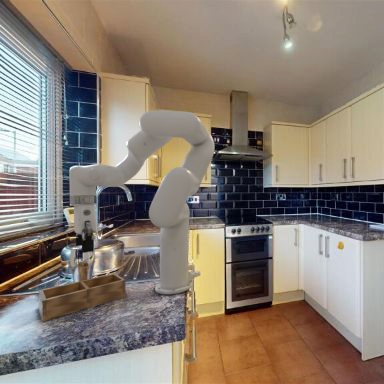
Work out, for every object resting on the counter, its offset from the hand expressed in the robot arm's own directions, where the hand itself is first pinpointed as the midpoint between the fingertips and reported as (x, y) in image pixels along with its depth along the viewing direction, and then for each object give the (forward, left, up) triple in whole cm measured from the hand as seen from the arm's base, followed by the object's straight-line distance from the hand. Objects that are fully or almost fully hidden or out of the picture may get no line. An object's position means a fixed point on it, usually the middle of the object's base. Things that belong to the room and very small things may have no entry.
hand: (84, 250), depth 80 cm
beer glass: (0, 0, -14) cm, 14 cm away
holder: (+2, +13, -14) cm, 19 cm away
